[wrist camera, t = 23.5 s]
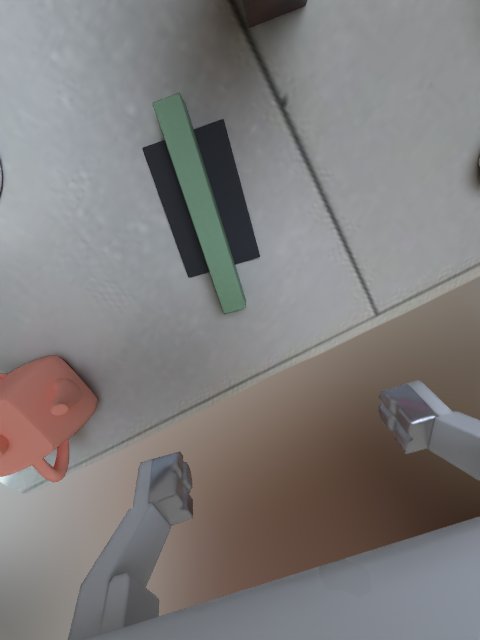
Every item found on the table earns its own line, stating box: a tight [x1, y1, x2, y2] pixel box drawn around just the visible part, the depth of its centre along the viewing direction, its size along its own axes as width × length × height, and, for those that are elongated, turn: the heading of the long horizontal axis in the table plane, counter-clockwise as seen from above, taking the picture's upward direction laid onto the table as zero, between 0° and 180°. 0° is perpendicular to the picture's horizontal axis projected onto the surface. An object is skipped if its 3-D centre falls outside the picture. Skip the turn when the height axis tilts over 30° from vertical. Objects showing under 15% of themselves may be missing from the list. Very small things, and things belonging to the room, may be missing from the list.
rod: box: [153, 93, 246, 314], centre depth 34 cm, size 3×24×3 cm, turn 17°
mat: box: [143, 119, 260, 277], centre depth 35 cm, size 10×16×1 cm, turn 16°
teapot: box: [0, 356, 98, 482], centre depth 40 cm, size 17×16×13 cm
